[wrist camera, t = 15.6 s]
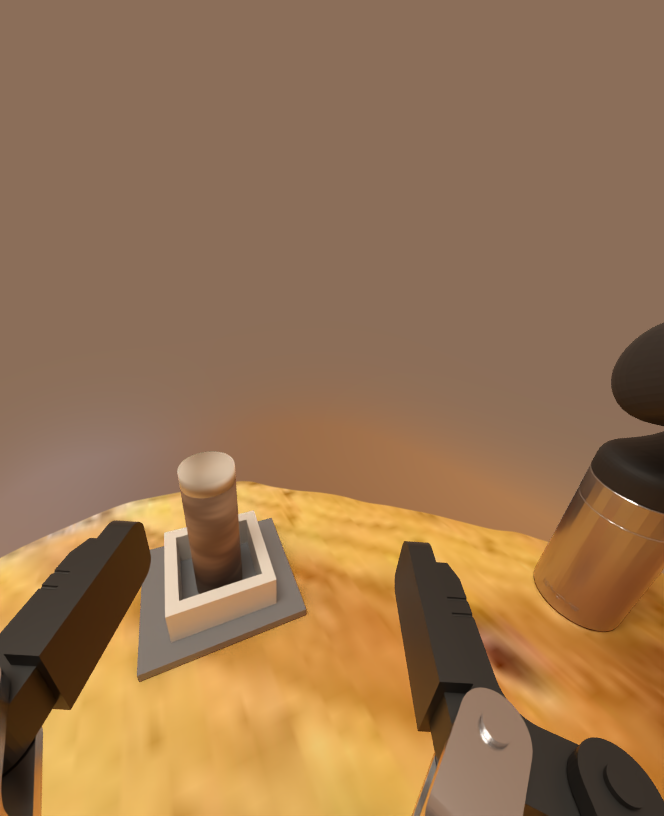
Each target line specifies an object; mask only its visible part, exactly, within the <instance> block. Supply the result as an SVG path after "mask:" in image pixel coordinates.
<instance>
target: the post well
mask: <svg viewBox="0 0 664 816" xmlns="http://www.w3.org/2000/svg"><path fill="white" fill-rule="evenodd" d="M238 520H239V534H240V548H241V563H242V580H241V581H238V582H235V583H232V584H229V585H226V586H223V587H220V588H217V589H214V590H211V591H208V592H205V593H202V594H199V593H198V590H197V586H196V580H195V574H194V568H193V562H192V556H191V550H190V544H189V538H188V532H187V527H186V528H182V529H178V530H174V531H170V532H166V533H164V546H163V547H159V548H156V549H152V550H150V554H151V564H150V568H149V572H148V574H147V577H146V579H145V580H144V582H143V584H142V590H141V609H140V628H139V647H138V666H137V678H138V680H139V682H140V681H143V680H145V679H148V678H150V677H152V676H155V675H157V674H160V673H162V672H165V671H167V670H170V669H172V668H175V667H177V666H180V665H182V664H185V663H187V662H190V661H192V660H195V659H197V658H200V657H202V656H205V655H207V654H210V653H212V652H215V651H217V650H220V649H222V648H225V647H227V646H229V645H232V644H234V643H237V642H239V641H242V640H244V639H247V638H249V637H252V636H254V635H257V634H259V633H262V632H264V631H267V630H269V629H272V628H274V627H277V626H279V625H282V624H284V623H287V622H289V621H292V620H294V619H297V618H299V617H302V616H304V615H306V607H305V605H304V602H303V600H302V597H301V594H300V592H299V589H298V586H297V584H296V581H295V579H294V576H293V573H292V571H291V568H290V565H289V563H288V560H287V557H286V555H285V552H284V550H283V547H282V544H281V542H280V539H279V536H278V534H277V531H276V529H275V526H274V523H273V521H272V518H269V519H266V520H262V521H258V522H257V519H256V516H255V513H254V511H250V512H246V513H242V514H238Z"/></svg>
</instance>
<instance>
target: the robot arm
mask: <svg viewBox="0 0 664 816" xmlns="http://www.w3.org/2000/svg"><path fill="white" fill-rule="evenodd" d="M611 385H612V386H611V387H612V392H613V395H614V397H615V399H616V401H617V403H618V404H619V405H620V407H621V408H622V409H623V410H624V411H626V412H627V413H628V414H630V415H631V416H633V417H635V418H637V419H640V420H642V421H645V422H648V423H652V424H656V425H661V426H664V323H662V324H660V325H657V326H655V327H653V328H651V329H650V330H648V331H646V332H645V333H643V334H642V335H640V336H639V337H638V338H637V339H635V340H634V341H633V342H632V343H631V344H630V345H629V346H628V347H627V348H626V349H625V351H624V352H623V353H622V355H621V356H620V358H619V359H618V361H617V363H616V365H615V367H614V369H613V373H612V379H611ZM150 564H151V554H150V550H149V546H148V542H147V538H146V534H145V530H144V526H143V524H142V523H141V522H130V521H112V522H111V523H109V524H108V525H107V527H106V528H105V529H104V530H103V532H102V533H101V534H100V535H99V536H98V538H89V539H88V540H86V541H85V542H84V543H82V544H81V545H80V546H78V547H77V548H75V549H74V550H73V551H71V552H70V553H69V554H68V555H67V556H66V558H65V559H64V560H63V561H62V562H61V563H60V565H59V566H58V567H57V568H56V569H55V572H54V573H53V574H51V575H50V576H49V577H48V578H47V580H46V581H45V582H44V583H43V584H42V587H41V589H38V590H37V591H36V592H35V594H34V595H33V596H32V597H31V598H30V599H29V601H28V602H27V603H26V604H25V605H24V606H23V608H22V609H21V610H20V611H19V612H18V613H17V614H16V616H15V617H14V618H13V619H12V620H11V621H10V623H9V624H8V625H7V626H6V627H5V628H4V630H3V631H2V632H1V633H0V816H41V804H42V753H43V729H42V725H43V723H44V721H45V720H46V718H47V717H48V715H49V713H50V712H51V710H52V709H64V710H71V708H72V707H73V705H74V703H75V701H76V700H77V698H78V696H79V694H80V693H81V691H82V689H83V687H84V686H85V684H86V682H87V680H88V679H89V677H90V675H91V673H92V672H93V670H94V668H95V666H96V665H97V663H98V661H99V659H100V658H101V656H102V654H103V652H104V651H105V649H106V647H107V645H108V643H109V642H110V640H111V638H112V636H113V635H114V633H115V631H116V629H117V628H118V626H119V624H120V622H121V621H122V619H123V617H124V615H125V614H126V612H127V610H128V608H129V607H130V605H131V603H132V601H133V600H134V598H135V596H136V594H137V593H138V591H139V589H140V587H141V586H142V584H143V582H144V580H145V579H146V577H147V574H148V572H149V568H150ZM663 569H664V432H660V433H657V434H653V435H648V436H642V437H632V438H620V439H614V440H611V441H608V442H606V443H604V444H603V445H602V446H601V447H600V448H599V450H598V451H597V453H596V455H595V457H594V458H593V460H592V462H591V465H590V466H589V468H588V470H587V472H586V474H585V476H584V478H583V479H582V481H581V483H580V485H579V488H578V489H577V491H576V493H575V495H574V496H573V498H572V500H571V502H570V504H569V506H568V508H567V510H566V511H565V513H564V515H563V517H562V519H561V521H560V523H559V524H558V526H557V528H556V530H555V532H554V534H553V536H552V538H551V540H550V541H549V543H548V545H547V547H546V548H545V550H544V552H543V554H542V556H541V558H540V560H539V562H538V563H537V565H536V567H535V570H534V579H535V583H536V585H537V587H538V589H539V591H540V593H541V594H542V595H543V597H544V598H545V599H546V600H547V602H548V603H549V604H550V605H551V606H552V607H553V608H555V609H556V610H557V611H558V612H559V613H560V614H562V615H563V616H565V617H566V618H568V619H569V620H571V621H573V622H575V623H576V624H578V625H580V626H583V627H586V628H588V629H592V630H596V631H610V630H613V629H615V628H616V627H618V625H619V624H620V623H621V622H622V620H623V619H624V618H625V617H626V615H627V614H628V613H629V612H630V610H631V609H632V608H633V607H634V606H635V604H636V603H637V602H638V601H639V599H640V598H641V597H642V596H643V594H644V593H645V592H646V591H647V589H648V588H649V587H650V586H651V584H652V583H653V582H654V581H655V579H656V578H657V577H658V576H659V574H660V573H661V572H662V570H663ZM395 595H396V601H397V607H398V613H399V619H400V626H401V632H402V638H403V644H404V650H405V656H406V662H407V668H408V674H409V680H410V686H411V692H412V698H413V704H414V710H415V717H416V723H417V729H418V731H424V732H431V734H432V740H433V745H434V750H435V753H434V755H433V758H432V761H431V764H430V766H429V769H428V772H427V775H426V777H425V780H424V783H423V786H422V788H421V791H420V794H419V797H418V799H417V802H416V805H415V808H414V810H413V813H412V816H664V801H663V799H662V797H661V795H660V793H659V792H658V790H657V788H656V787H655V785H654V783H653V782H652V780H651V779H650V778H649V776H648V775H647V774H646V772H645V771H644V770H643V769H642V768H641V766H640V765H639V764H638V763H637V762H636V761H635V760H634V759H633V758H632V757H631V756H630V755H628V754H627V753H626V752H625V751H624V750H622V749H621V748H619V747H618V746H616V745H615V744H613V743H611V742H609V741H607V740H604V739H601V738H588V739H586V740H584V741H583V742H582V743H581V744H580V745H578V744H575V743H573V742H571V741H569V740H567V739H564V738H562V737H560V736H558V735H556V734H553V733H551V732H549V731H547V730H544V729H542V728H540V727H538V726H536V725H534V724H533V723H531V722H530V721H528V720H527V719H525V718H524V717H523V716H522V715H521V714H519V712H518V711H517V710H516V709H515V707H514V706H513V705H512V704H511V703H510V702H509V701H508V700H507V699H506V697H505V696H504V694H503V693H502V691H501V689H500V687H499V685H498V683H497V681H496V678H495V675H494V672H493V670H492V667H491V664H490V661H489V659H488V656H487V653H486V650H485V648H484V645H483V642H482V639H481V637H480V634H479V631H478V628H477V626H476V623H475V620H474V618H473V617H472V612H471V609H470V606H469V604H468V602H467V600H466V595H465V593H464V590H463V587H462V584H461V581H460V579H459V578H458V576H457V575H456V574H455V573H454V571H453V570H452V569H451V567H450V566H449V565H448V564H447V563H439V562H436V560H435V557H434V554H433V551H432V548H431V545H430V544H429V543H423V542H408V541H404V543H403V545H402V549H401V553H400V557H399V561H398V565H397V569H396V573H395Z"/></svg>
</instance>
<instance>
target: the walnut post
mask: <svg viewBox="0 0 664 816" xmlns="http://www.w3.org/2000/svg"><path fill="white" fill-rule="evenodd" d="M177 473H178V479H179V485H180V491H181V497H182V503H183V509H184V514H185V520H186V526H187V532H188V538H189V544H190V550H191V556H192V562H193V568H194V574H195V580H196V586H197V590H198V593H199V594H202V593H205V592H208V591H211V590H214V589H217V588H220V587H223V586H226V585H229V584H232V583H235V582H238V581H241V580H242V563H241V548H240V534H239V520H238V505H237V491H236V478H235V463H234V460H233V459H232V457H230V456H229V455H227V454H225V453H221V452H203V453H198V454H195V455H193V456H190V457H189V458H187V459H185V460H184V461H183V462H182V463H181V464H180V465H179V467H178V472H177Z"/></svg>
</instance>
